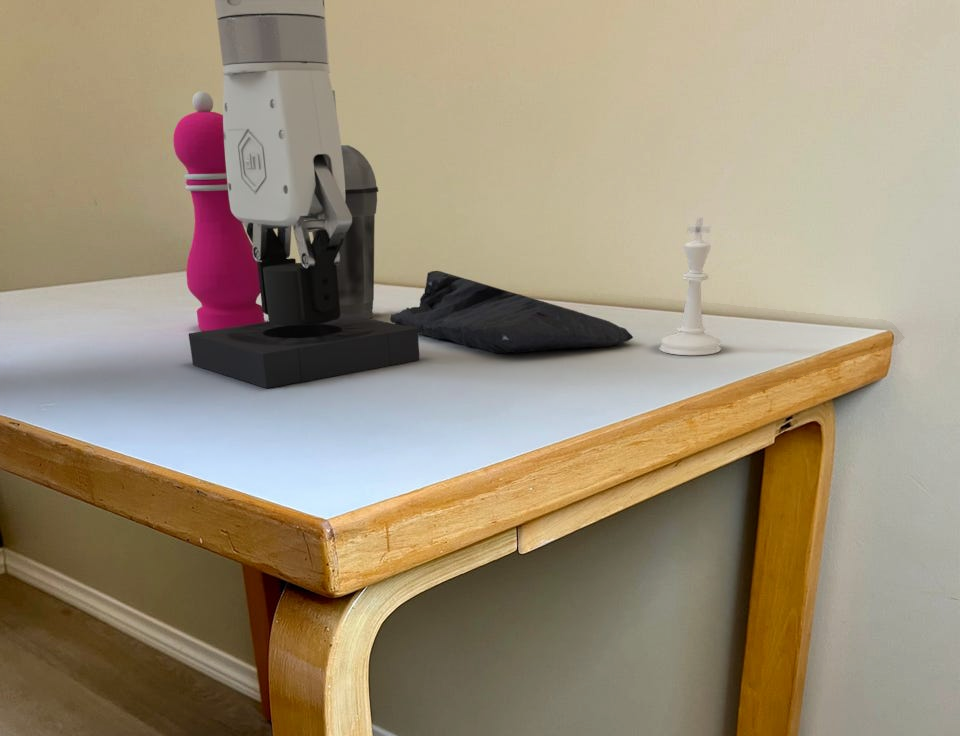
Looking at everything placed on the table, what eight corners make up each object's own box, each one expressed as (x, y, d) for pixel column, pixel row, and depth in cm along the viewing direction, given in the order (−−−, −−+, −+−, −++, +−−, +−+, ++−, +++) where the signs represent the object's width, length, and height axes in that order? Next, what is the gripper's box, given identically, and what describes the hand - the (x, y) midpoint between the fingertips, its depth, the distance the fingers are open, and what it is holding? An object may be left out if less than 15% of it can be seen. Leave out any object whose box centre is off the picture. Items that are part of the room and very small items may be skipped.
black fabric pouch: (483, 366, 78) (482, 303, 76) (381, 325, 96) (378, 273, 94) (647, 346, 84) (650, 286, 82) (522, 311, 102) (522, 261, 100)
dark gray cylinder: (290, 328, 77) (284, 272, 75) (256, 320, 80) (250, 267, 78) (347, 319, 80) (343, 266, 78) (312, 312, 83) (307, 261, 81)
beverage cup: (314, 325, 97) (291, 88, 88) (313, 313, 104) (292, 92, 94) (389, 321, 98) (374, 87, 89) (383, 310, 104) (369, 90, 95)
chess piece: (667, 342, 85) (675, 214, 81) (725, 345, 84) (737, 215, 79) (653, 353, 81) (660, 219, 77) (714, 357, 80) (725, 220, 75)
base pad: (266, 388, 73) (262, 353, 72) (192, 365, 81) (187, 333, 80) (419, 360, 81) (418, 328, 80) (338, 341, 89) (335, 312, 88)
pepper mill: (280, 320, 100) (255, 91, 91) (253, 334, 93) (223, 88, 84) (212, 320, 101) (180, 93, 92) (181, 333, 95) (143, 91, 86)
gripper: (172, 57, 75) (208, 311, 83) (291, 40, 63) (318, 336, 72) (261, 60, 79) (286, 300, 88) (388, 43, 68) (403, 323, 76)
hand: (301, 314), depth 80 cm, fingers closed on dark gray cylinder, 5 cm apart
